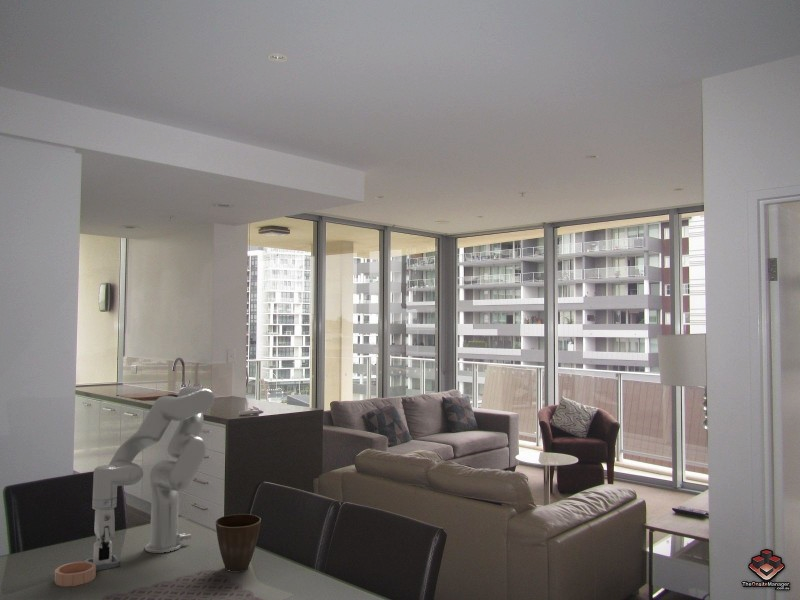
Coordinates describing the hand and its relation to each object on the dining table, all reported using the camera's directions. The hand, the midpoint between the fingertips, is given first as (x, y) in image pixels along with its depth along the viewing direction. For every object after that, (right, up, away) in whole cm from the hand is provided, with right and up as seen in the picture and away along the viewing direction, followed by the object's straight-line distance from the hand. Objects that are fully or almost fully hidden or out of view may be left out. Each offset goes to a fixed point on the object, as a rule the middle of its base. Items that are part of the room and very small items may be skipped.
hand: (102, 556), depth 215 cm
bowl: (-3, -2, -13) cm, 13 cm away
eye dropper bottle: (0, -3, 0) cm, 3 cm away
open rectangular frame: (0, -3, 0) cm, 3 cm away
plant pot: (+46, -4, -1) cm, 46 cm away
